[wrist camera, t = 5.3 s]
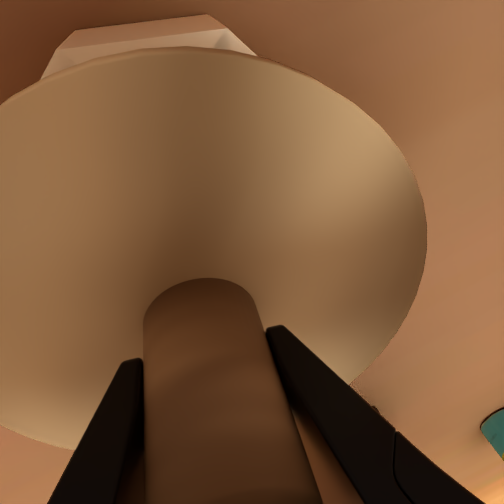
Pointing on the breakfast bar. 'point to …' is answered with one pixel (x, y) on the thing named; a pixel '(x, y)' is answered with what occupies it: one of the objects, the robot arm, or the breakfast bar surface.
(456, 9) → the breakfast bar surface
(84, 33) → the bowl
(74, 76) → the lid
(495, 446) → the tube
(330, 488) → the robot arm
